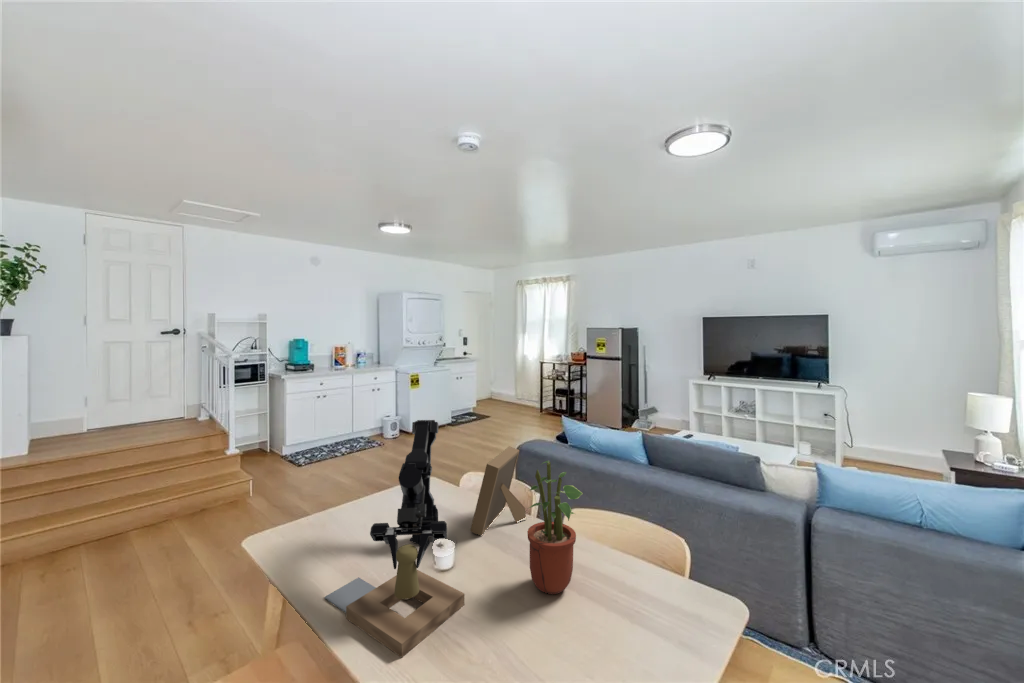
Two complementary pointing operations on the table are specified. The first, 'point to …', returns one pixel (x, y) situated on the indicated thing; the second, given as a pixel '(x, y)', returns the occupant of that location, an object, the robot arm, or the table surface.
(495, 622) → the table surface
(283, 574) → the table surface
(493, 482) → the photo frame
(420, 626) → the walnut holder block
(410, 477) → the robot arm
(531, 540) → the potted plant
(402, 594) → the olive green pawn
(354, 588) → the grey mat
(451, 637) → the table surface
